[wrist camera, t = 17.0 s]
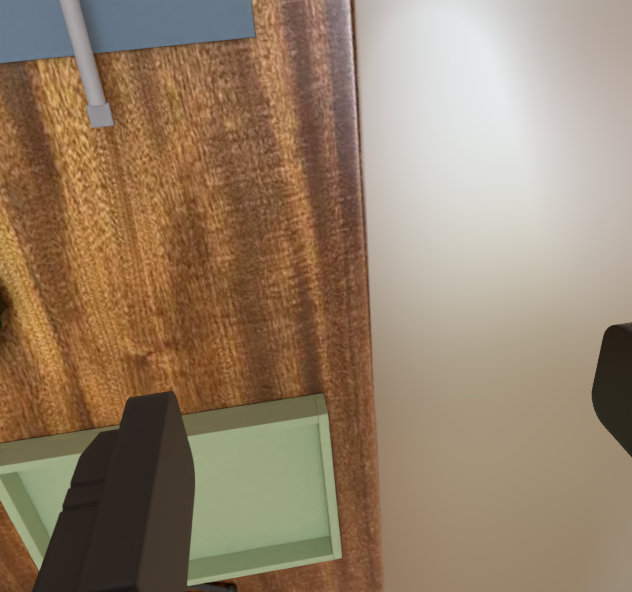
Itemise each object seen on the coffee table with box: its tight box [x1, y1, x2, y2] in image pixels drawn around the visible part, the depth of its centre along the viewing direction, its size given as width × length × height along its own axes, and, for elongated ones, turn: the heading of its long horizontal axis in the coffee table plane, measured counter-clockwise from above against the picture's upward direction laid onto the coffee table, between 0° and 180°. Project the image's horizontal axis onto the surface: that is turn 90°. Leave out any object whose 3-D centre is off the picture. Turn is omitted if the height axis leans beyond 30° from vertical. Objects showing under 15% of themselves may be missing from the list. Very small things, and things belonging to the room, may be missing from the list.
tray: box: [0, 393, 342, 586], centre depth 45 cm, size 26×18×3 cm
